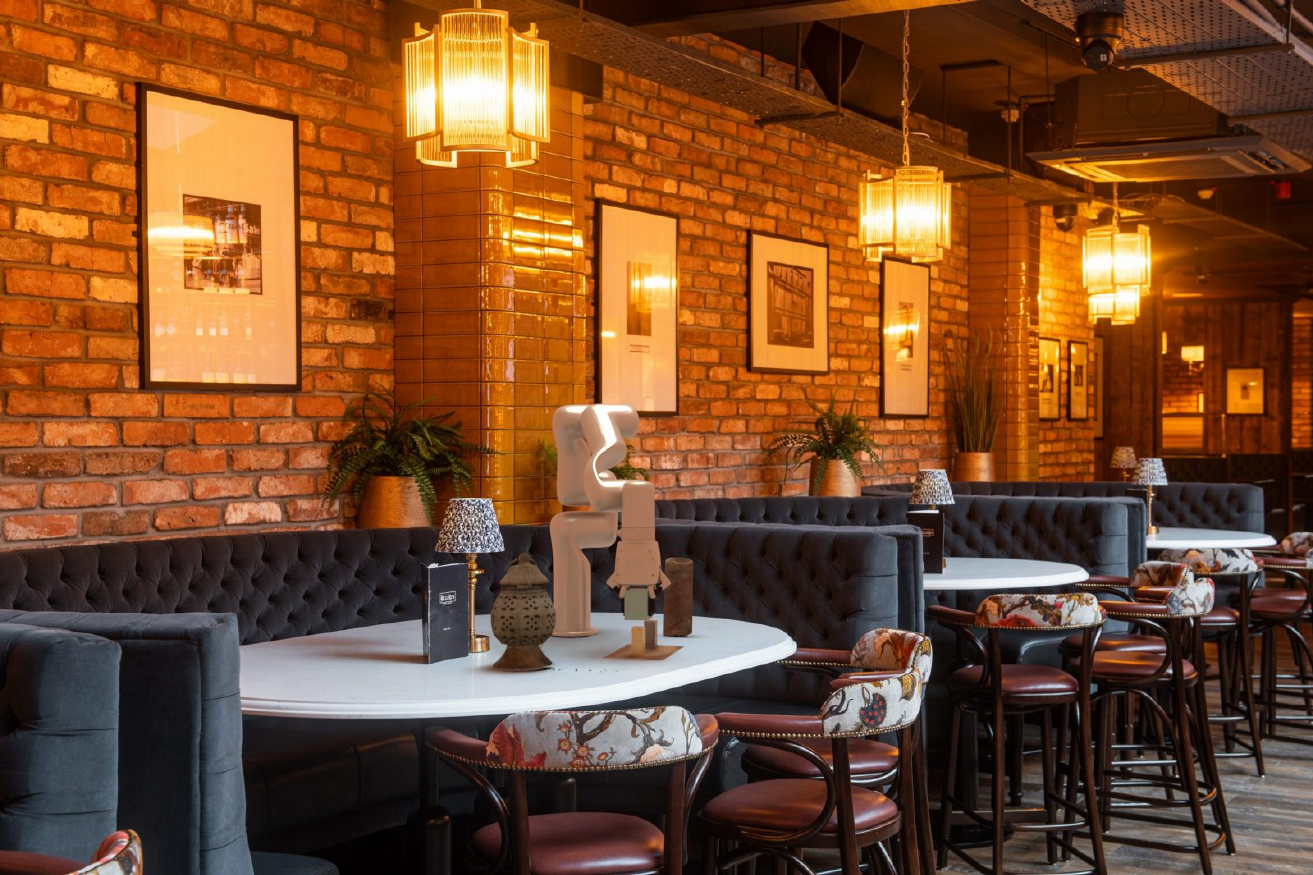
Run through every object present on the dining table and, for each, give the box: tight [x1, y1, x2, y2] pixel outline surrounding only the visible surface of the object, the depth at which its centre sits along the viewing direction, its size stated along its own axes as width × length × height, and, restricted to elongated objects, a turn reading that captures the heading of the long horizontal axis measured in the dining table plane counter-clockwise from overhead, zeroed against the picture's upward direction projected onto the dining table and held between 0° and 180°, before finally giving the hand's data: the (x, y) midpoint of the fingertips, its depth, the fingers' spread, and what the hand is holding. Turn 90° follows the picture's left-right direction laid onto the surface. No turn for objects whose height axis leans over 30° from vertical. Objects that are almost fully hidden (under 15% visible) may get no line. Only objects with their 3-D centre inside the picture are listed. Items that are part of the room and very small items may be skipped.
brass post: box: [630, 625, 645, 657], centre depth 312 cm, size 3×3×6 cm
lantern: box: [490, 552, 556, 673], centre depth 302 cm, size 14×14×25 cm
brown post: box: [643, 619, 658, 649], centre depth 324 cm, size 3×3×6 cm
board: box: [602, 643, 685, 661], centre depth 318 cm, size 14×22×1 cm, turn 166°
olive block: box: [624, 588, 653, 621], centre depth 312 cm, size 5×5×7 cm
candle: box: [662, 557, 694, 638], centre depth 348 cm, size 8×7×20 cm
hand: (638, 614), depth 312 cm, fingers closed on olive block, 5 cm apart
